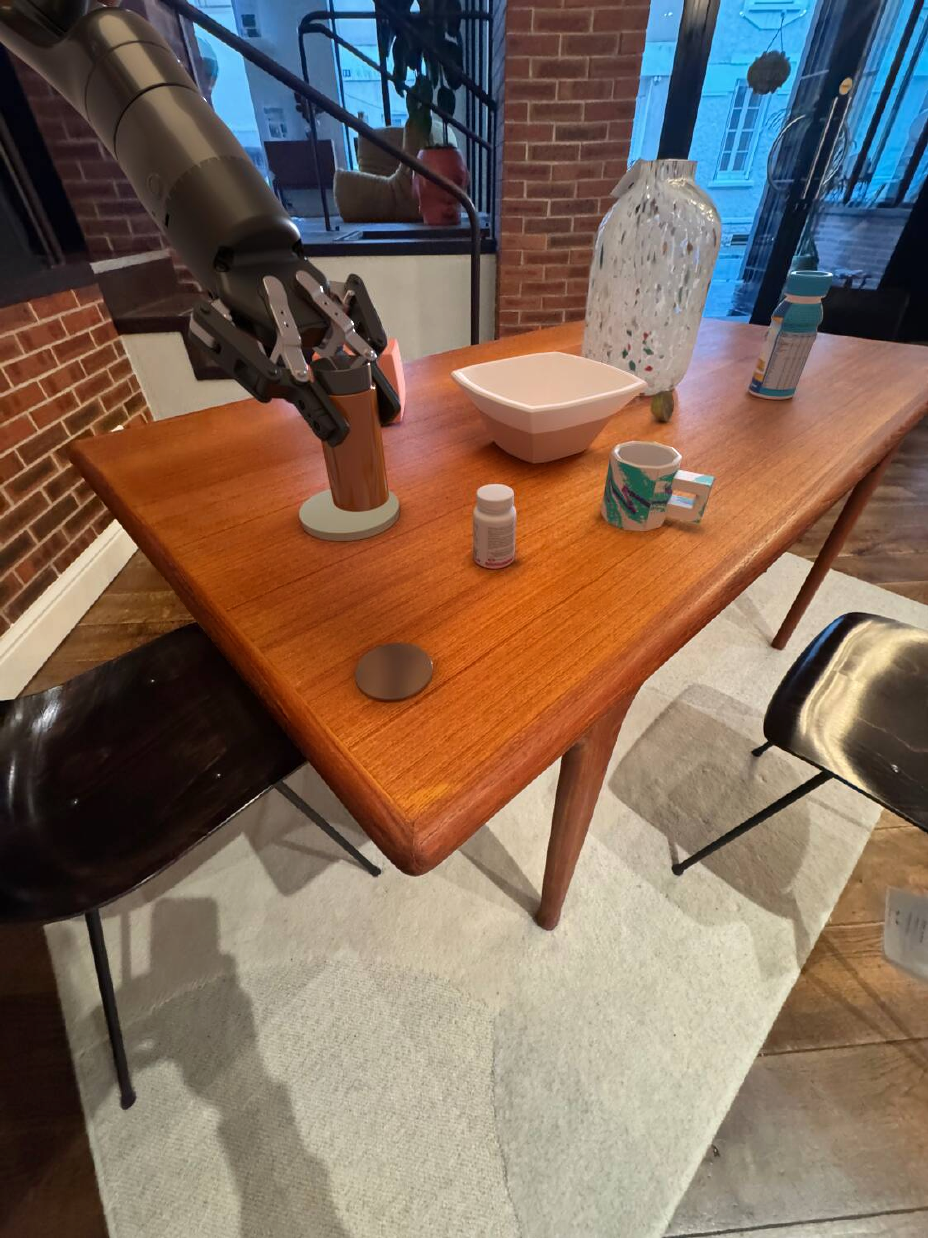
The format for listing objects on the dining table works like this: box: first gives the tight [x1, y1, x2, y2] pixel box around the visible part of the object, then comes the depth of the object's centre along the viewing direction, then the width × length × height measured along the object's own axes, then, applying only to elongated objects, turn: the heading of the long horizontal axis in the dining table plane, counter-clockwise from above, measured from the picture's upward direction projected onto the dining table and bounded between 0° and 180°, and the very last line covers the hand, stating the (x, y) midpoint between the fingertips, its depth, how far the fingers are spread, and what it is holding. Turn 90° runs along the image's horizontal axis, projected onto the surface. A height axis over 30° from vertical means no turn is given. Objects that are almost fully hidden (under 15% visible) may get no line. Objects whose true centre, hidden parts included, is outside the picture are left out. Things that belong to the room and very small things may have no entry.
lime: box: [649, 389, 675, 422], centre depth 92 cm, size 4×5×5 cm
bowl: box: [450, 351, 648, 465], centre depth 82 cm, size 24×25×11 cm
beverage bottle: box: [748, 270, 834, 401], centre depth 96 cm, size 8×8×20 cm
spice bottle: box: [309, 355, 390, 512], centre depth 38 cm, size 4×4×10 cm
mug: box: [600, 440, 716, 532], centre depth 64 cm, size 8×12×8 cm
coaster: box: [354, 642, 434, 703], centre depth 47 cm, size 7×7×1 cm
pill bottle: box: [472, 483, 517, 570], centre depth 58 cm, size 5×5×8 cm
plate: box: [298, 488, 401, 542], centre depth 69 cm, size 13×13×1 cm
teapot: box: [306, 337, 406, 425], centre depth 93 cm, size 20×22×14 cm
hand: (367, 427), depth 36 cm, fingers closed on spice bottle, 4 cm apart
